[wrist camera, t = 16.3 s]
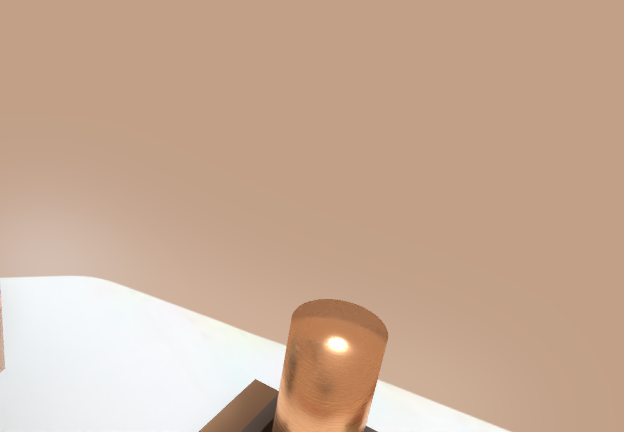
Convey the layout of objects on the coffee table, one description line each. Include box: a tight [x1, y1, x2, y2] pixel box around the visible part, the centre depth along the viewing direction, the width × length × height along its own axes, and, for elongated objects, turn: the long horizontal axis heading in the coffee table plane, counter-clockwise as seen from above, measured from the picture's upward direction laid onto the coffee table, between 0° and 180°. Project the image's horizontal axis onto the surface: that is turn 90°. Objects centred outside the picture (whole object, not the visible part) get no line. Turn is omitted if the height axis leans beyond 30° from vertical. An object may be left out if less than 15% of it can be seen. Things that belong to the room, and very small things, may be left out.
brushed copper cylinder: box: [272, 299, 388, 432], centre depth 36 cm, size 6×6×12 cm
